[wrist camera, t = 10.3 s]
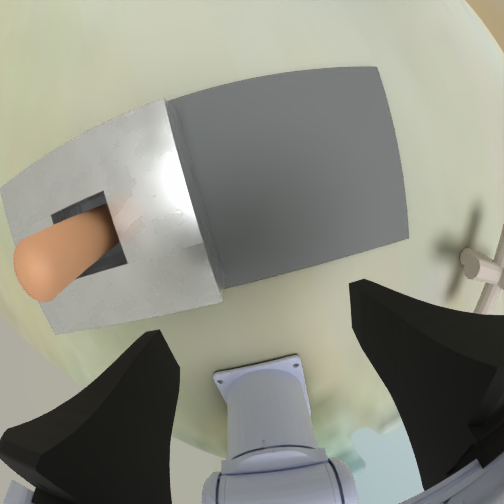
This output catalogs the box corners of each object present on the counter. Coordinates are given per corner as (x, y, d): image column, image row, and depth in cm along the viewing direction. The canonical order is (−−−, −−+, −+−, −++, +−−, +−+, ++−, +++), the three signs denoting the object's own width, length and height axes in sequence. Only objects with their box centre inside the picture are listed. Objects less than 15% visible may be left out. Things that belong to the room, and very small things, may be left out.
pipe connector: (472, 303, 23) (526, 347, 14) (418, 297, 22) (483, 356, 12) (499, 221, 20) (563, 248, 11) (449, 194, 19) (535, 220, 9)
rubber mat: (406, 236, 20) (409, 238, 20) (76, 319, 21) (74, 321, 20) (374, 68, 16) (376, 66, 15) (24, 175, 16) (21, 175, 16)
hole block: (225, 275, 20) (222, 302, 16) (76, 310, 20) (55, 334, 16) (178, 111, 16) (163, 98, 12) (30, 181, 16) (-1, 188, 12)
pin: (135, 235, 18) (70, 295, 9) (103, 247, 18) (30, 307, 9) (122, 196, 17) (43, 228, 8) (90, 210, 17) (6, 248, 8)
